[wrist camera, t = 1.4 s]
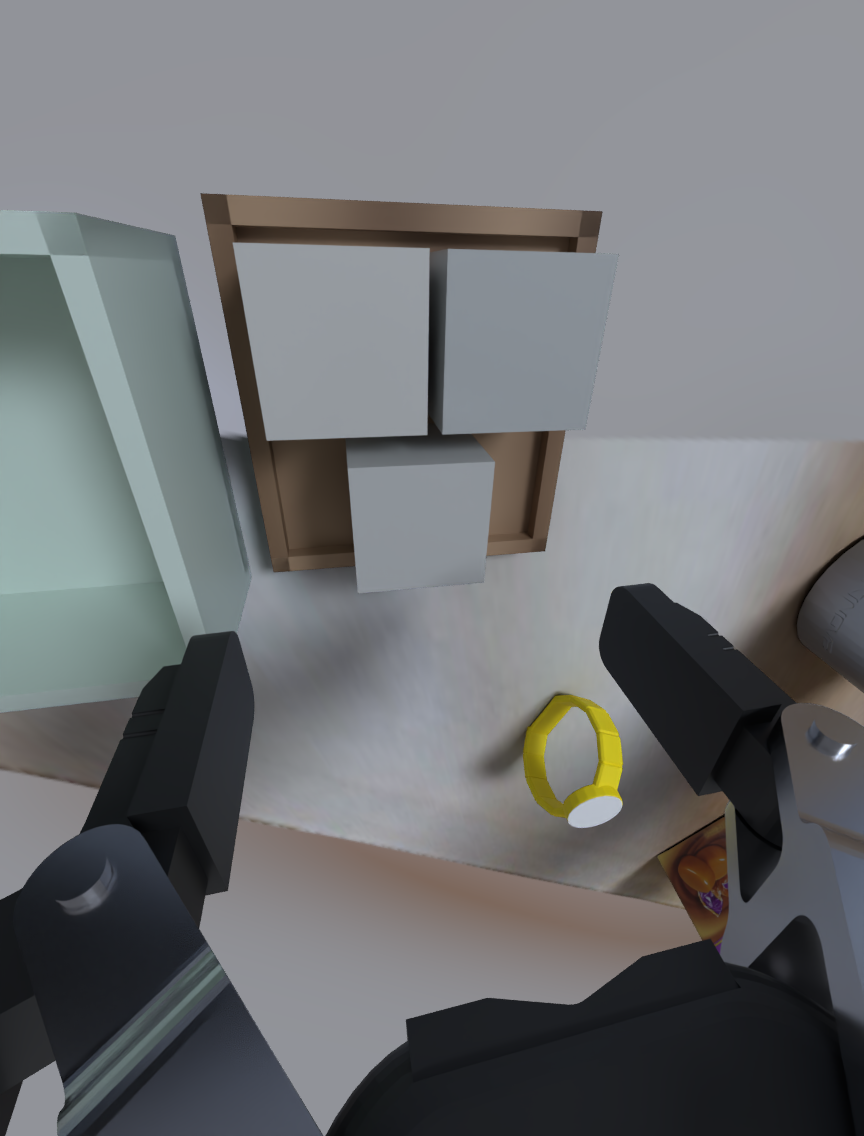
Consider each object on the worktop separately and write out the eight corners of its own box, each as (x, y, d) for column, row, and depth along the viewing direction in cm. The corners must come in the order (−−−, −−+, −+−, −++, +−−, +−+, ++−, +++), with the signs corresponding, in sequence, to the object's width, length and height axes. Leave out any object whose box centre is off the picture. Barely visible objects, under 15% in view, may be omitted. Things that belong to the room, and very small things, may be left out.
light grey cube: (405, 253, 13) (429, 248, 10) (406, 399, 15) (427, 435, 12) (259, 250, 13) (232, 242, 9) (281, 402, 15) (266, 440, 11)
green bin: (175, 235, 13) (74, 212, 8) (251, 576, 19) (222, 687, 14) (-257, 222, 11) (-723, 182, 6) (-24, 598, 17) (-169, 732, 12)
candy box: (744, 798, 37) (959, 1074, 24) (764, 813, 39) (972, 1074, 26) (652, 855, 39) (803, 1131, 27) (675, 865, 42) (826, 1127, 29)
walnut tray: (580, 216, 14) (602, 211, 13) (532, 535, 20) (544, 551, 19) (212, 200, 13) (200, 193, 11) (277, 553, 18) (273, 572, 17)
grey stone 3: (551, 258, 14) (619, 253, 11) (533, 397, 16) (585, 429, 13) (419, 254, 13) (447, 249, 10) (419, 399, 16) (442, 434, 12)
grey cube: (461, 422, 16) (494, 461, 13) (456, 526, 18) (483, 582, 15) (344, 426, 16) (347, 468, 12) (353, 532, 18) (357, 593, 14)
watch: (539, 745, 29) (576, 847, 24) (502, 737, 28) (534, 843, 23) (601, 683, 26) (657, 785, 21) (563, 672, 25) (613, 777, 20)
